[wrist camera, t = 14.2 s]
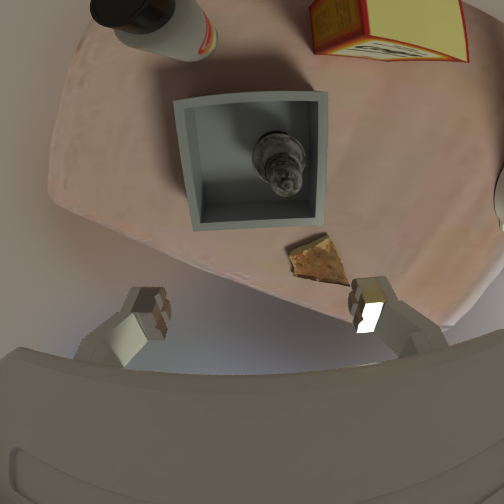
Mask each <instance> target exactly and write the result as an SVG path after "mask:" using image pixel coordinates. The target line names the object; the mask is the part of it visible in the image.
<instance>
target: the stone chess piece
mask: <svg viewBox="0 0 504 504" xmlns="http://www.w3.org/2000/svg"><path fill="white" fill-rule="evenodd" d="M305 165H306V154H305V150H304V148H303V146H302V144H301V143H300V142H299V141H298V140H297V139H295V138H294V137H292V136H291V135H289V134H287V133H286V132H282V131H270V132H267V133H265V134H263V135H262V136H261V137H260V138H259V139H258V141H257V142H256V144H255V148H254V149H253V153H252V166H253V169H254V171H255V172H256V174H257V176H259V177H260V178H261V179H262V180H263V181H265V182H267V183H270V185H271V187H272V189H273V191H275V192H276V193H277V194H278V195H280V196H284V197H289V196H292V195H294V194H296V193H297V192H298V191H299V190H300V188H301V186H302V175H301V173H302V172H303V170H304V168H305Z"/></svg>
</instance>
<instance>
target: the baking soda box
mask: <svg viewBox="0 0 504 504" xmlns="http://www.w3.org/2000/svg"><path fill="white" fill-rule="evenodd" d="M309 12H310V20H311V29H312V38H313V48H314V55H335V56H347V57H357V58H366V59H373V60H380V61H386V62H389V61H452V62H465V63H469V51H468V41H467V33H466V25H465V19H464V13H463V8H462V3H461V0H315V1H314V2H313V3H312V4H311V6H310V7H309Z"/></svg>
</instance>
